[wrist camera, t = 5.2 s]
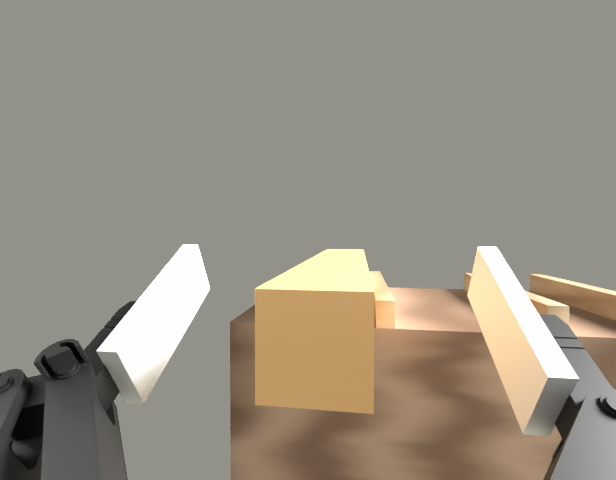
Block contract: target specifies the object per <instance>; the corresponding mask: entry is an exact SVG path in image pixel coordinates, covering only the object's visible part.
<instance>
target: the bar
mask: <svg viewBox="0 0 616 480" xmlns="http://www.w3.org/2000/svg"><path fill="white" fill-rule="evenodd" d="M255 405H262V406H275V407H288V408H301V409H313V410H326V411H339V412H352V413H365V414H374V288H373V284H372V281H371V277H370V273H369V269H368V266H367V261H366V258H365V254H364V250H363V249H361V250H360V249H355V250H353V249H327V250H325V251H324V252H321V253H320V254H318V255H316V256H314V257H312V258H310V259H309V260H307V261H305V262H303V263H301V264H299V265H298V266H296V267H294V268H292V269H290V270H288V271H287V272H285V273H283V274H281V275H279V276H277V277H276V278H274V279H272V280H270V281H268V282H266V283H265V284H263V285H261V286H259V287H258V288H256V289H255Z"/></svg>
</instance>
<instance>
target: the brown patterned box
mask: <svg viewBox="0 0 616 480" xmlns="http://www.w3.org/2000/svg"><path fill="white" fill-rule="evenodd" d="M369 273H370V277H371V281H372V284H373V288H374V414H365V413H352V412H339V411H326V410H313V409H301V408H288V407H275V406H262V405H255V305H254V306H252V307H251V308H250V309H248V310H247V311H245V312H244V313H242V314H241V315H240V316H238V317H237V318H235V319H234V320H232V321H231V322H230V367H231V368H230V373H231V374H230V379H231V380H230V384H231V385H230V387H231V388H230V389H231V480H543V479H544V477H545V475H546V472H547V470H548V468H549V466H550V463H551V461H552V459H553V458H552V456H553V454H554V452H555V450H556V449H557V447H558V445H559V443H560V441H561V439H562V438H561V436H560V433H559V431H558V429H557V427H556V425H555V427H554V429H553V431H552V433H551V435H550V436H539V435H526V434H523V433H522V431H521V428H520V426H519V423H518V421H517V418H516V416H515V413H514V411H513V408H512V406H511V403H510V401H509V398H508V396H507V393H506V391H505V388H504V386H503V383H502V381H501V378H500V376H499V373H498V371H497V368H496V366H495V363H494V361H493V358H492V356H491V353H490V351H489V348H488V346H487V343H486V341H485V338H484V336H483V333H482V331H481V328H480V326H479V323H478V321H477V318H476V316H475V313H474V311H473V309H472V306H471V304H470V301H469V299H468V296H467V295H468V290H469V285H470V281H471V276H472V273H464V289H422V288H388V287H387V285H386V283H385V281H384V279H383V277H382V275H381V273H380V272H379V271H369ZM524 291H525V290H524ZM525 293H526V295H527V296H528V298H529V299H530V301H531V303H532V304H533V306H534V307H535V309H536V311H537V312H538V314H547V315H556V316H557V317H559V318H560V319H561V320H562V321H564V322H565V323H566V324H567V325H569V327H570V328H571V329H572V331H573V332H574V334H575V335H576V336H577V340H579V341H580V342H581V344H582V345H583V346H584V350H586V351H587V352H588V354H589V355H590V356H591V358H592V359H593V361H594V362H595V364H596V365H597V366H598V368H599V369H600V371H601V372H602V374H603V375H604V376H605V378H606V379H607V381H608V382H609V383H610V385H611V386H612V388H613V389H615V390H616V291H612V290H607V289H603V288H599V287H594V286H590V285H586V284H581V283H577V282H573V281H568V280H564V279H560V278H555V277H551V276H546V275H541V274H530V289H529V291H525Z"/></svg>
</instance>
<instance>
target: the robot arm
mask: <svg viewBox="0 0 616 480" xmlns="http://www.w3.org/2000/svg"><path fill="white" fill-rule="evenodd" d="M209 290H210V287H209V283H208V280H207V276H206V272H205V269H204V265H203V262H202V258H201V254H200V251H199V247H198V245H182V247H181V248H180V249H179V250H178V251H177V253H176V254H175V255H174V256H173V258H172V259H171V260H170V261H169V263H168V264H167V265H166V266H165V268H164V269H163V270H162V271H161V273H160V274H159V275H158V276H157V277H156V278H155V280H154V281H153V282H152V283H151V285H150V286H149V287H148V288H147V290H146V291H145V292H144V293H143V294H142V296H141V297H140V298H139V299H138V301H131V302H129V303H127V304H126V305H125V306H123V307H122V308H120V309H119V310H118V311H117V312H116V313H115V315H114V316H113V317H112V318H111V321H109V322H108V323H107V324H106V325H105V328H103V329H102V330H101V331H100V332H99V333H98V335H97V336H96V337H95V338H94V339H93V340H92V342H91V343H90V344H89V345H88V346H87V347H86V348H85V350H84V351H83V349H82V347H81V346H80V344H79V342H78V341H76V340H74V339H66V340H62V341H59V342H56V343H54V344H52V345H50V346H49V347H47V348H46V349H44V350H43V351H42V352H41V353H40V354H39V355H38V356H37V358H36V359H35V362H34V365H35V366H36V368H37V369H38V370H39V372H40V373H41V374H42V375H38V376H33V377H29V378H27V376H26V375H25V374H24V372H23V371H22V370H19V369H12V370H7V371H5V372H2V373H0V480H128V479H127V472H126V466H125V460H124V453H123V447H122V440H121V433H120V427H119V421H118V415H117V408H116V405H115V403H114V400H115V398H116V396H117V395H118V394H119V392H120V394H121V396H122V398H123V399H124V401H125V402H130V403H143V404H144V403H145V401H146V399H147V397H148V396H149V394H150V392H151V390H152V389H153V387H154V385H155V383H156V381H157V380H158V378H159V377H160V375H161V373H162V371H163V370H164V368H165V366H166V364H167V363H168V361H169V359H170V357H171V356H172V354H173V352H174V350H175V349H176V347H177V345H178V343H179V342H180V340H181V338H182V336H183V335H184V333H185V331H186V330H187V328H188V326H189V324H190V323H191V321H192V319H193V317H194V316H195V314H196V312H197V310H198V308H199V307H200V305H201V303H202V302H203V300H204V298H205V296H206V295H207V293H208V291H209ZM467 296H468V299H469V301H470V304H471V306H472V309H473V311H474V313H475V316H476V318H477V321H478V323H479V326H480V328H481V331H482V333H483V336H484V338H485V341H486V343H487V346H488V348H489V351H490V353H491V356H492V358H493V361H494V363H495V366H496V368H497V371H498V373H499V376H500V378H501V381H502V383H503V386H504V388H505V391H506V393H507V396H508V398H509V401H510V403H511V406H512V408H513V411H514V413H515V416H516V418H517V421H518V423H519V426H520V428H521V431H522V433H523V434H526V435H539V436H550V435H551V433H552V431H553V429H554V427H555V425H556V427H557V429H558V431H559V433H560V436H561V438H562V439H561V441H560V443H559V445H558V447H557V449H556V450H555V452H554V454H553V456H552V458H553V459H552V461H551V463H550V466H549V468H548V470H547V472H546V475H545V477H544V479H543V480H616V390H615V389H613V388H612V386H611V385H610V383H609V382H608V381H607V379H606V378H605V376H604V375H603V374H602V372H601V371H600V369H599V368H598V366H597V365H596V364H595V362H594V361H593V359H592V358H591V356H590V355H589V354H588V352H587V351H586V350H584V346H583V345H582V344H581V342H580V341H579V340H577V336H576V335H575V334H574V332H573V331H572V329H571V328H570V327H569V325H567V324H566V323H565V322H564V321H562V320H561V319H560V318H559V317H557V316H556V315H547V314H538V312H537V311H536V309H535V307H534V306H533V304H532V303H531V301H530V299H529V298H528V296H527V295H526V293H525V291H524V290H523V288H522V287H521V285H520V283H519V282H518V280H517V279H516V277H515V276H514V274H513V272H512V271H511V269H510V267H509V266H508V264H507V263H506V261H505V259H504V258H503V256H502V255H501V253H500V251H499V250H498V248H497V247H478V248H477V253H476V258H475V262H474V267H473V271H472V276H471V281H470V285H469V290H468V295H467Z"/></svg>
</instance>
